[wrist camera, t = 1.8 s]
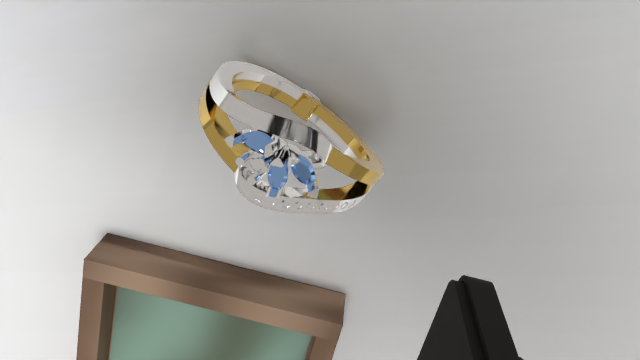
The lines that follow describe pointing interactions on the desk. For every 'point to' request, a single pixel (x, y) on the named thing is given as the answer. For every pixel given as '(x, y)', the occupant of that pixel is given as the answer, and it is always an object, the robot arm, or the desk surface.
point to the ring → (270, 152)
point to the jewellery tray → (198, 309)
